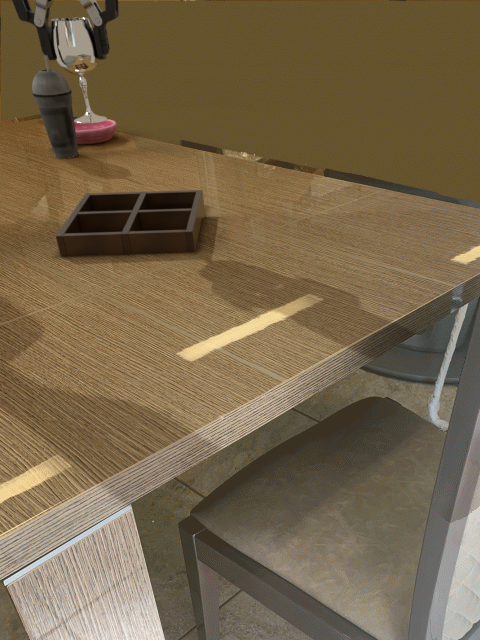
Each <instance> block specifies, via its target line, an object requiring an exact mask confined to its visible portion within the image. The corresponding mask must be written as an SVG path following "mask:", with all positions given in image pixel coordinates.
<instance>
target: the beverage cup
mask: <svg viewBox="0 0 480 640" xmlns="http://www.w3.org/2000/svg"><path fill="white" fill-rule="evenodd" d="M43 58H44V63H45V67H46V69H41V70H39V71H38V72H37V73H36V74H35V75H34V77H33V79H32V83H31V90H32V96H33V98H34V101H35V104H36V107H38V109H39V113H40V115H41V119H42V122H43V125H44V127H45V131H46V134H47V136H48V140H49V143H50V146H51V149H52V151H53V154H54V156H55V158H57V159H70V158H69V157H72V158H74V157H73V156H76V155H78V156H79V151H78V149H79V148H78V144H77V139H76V132H75V125H74V120H75V117H74V112H73V96H72V89H71V86H70V84H69V82H68V81H67V78H65V76H64V75H63V74H62V73H60V72H59V71H57V70H54V69H51V68H50V64H49V59H48V55H44V54H43ZM76 157H77V156H76Z"/></svg>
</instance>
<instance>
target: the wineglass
mask: <svg viewBox="0 0 480 640" xmlns="http://www.w3.org/2000/svg"><path fill="white" fill-rule="evenodd" d="M50 22H51V23H50V24H51V25H50V26H51V37H52V46H53V51H54V55H55V58H56V60H55V61H56V62H57V64H58V65H59V66H60V67H61V69H63V70H64V71H66V72H67V73H70V74H73V75H76V76H79V78H78V79H79V80H78V82H79V86H80V89H81V92H82V94H83V99H84V103H85V107H86V108H85V109H86V110H85V113H84V114H83V115H82V116H79V117H76V118H74V122H76V123H82V124H90V123H99V122H103V121H106V120H107V119H108V117H106V116H104V115H98V114H96V113H94V112H93V111H92V108H91V106H90V102H89V95H88V82H87V79H86V78H85V75H87V74H90V73H91V72H93V71H94V70H95V69H96V68H97V67H98V66H99V62H100V60H99V59H98V55H97V50H96V45H95V39H94V34H93V29H92V27H93V26H92V24H91V21H90V19H89V18H88V17H60V18H59V17H58V18H52V19H50Z"/></svg>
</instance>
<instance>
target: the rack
mask: <svg viewBox="0 0 480 640" xmlns="http://www.w3.org/2000/svg"><path fill="white" fill-rule="evenodd" d="M203 218H206V209H205V201H204V192H203V189H189V190H187V189H185V190H154V191H153V190H151V191H125V192H124V191H122V192H121V191H120V192H89V193H84V195H83V196H82V198H80V200H79V202H78V203H77V204H76V207H75V208H74V209H73V210H72V212H71V213H70V215H69V217H68V218H67V219H66V221H65V222H64V224H63V225H62V226H61V228H60V229H59V231H58V232H57V234H56V235H55V239H56V242H57V247H58V250H59V254H60V257H64V258H65V257H86V256H87V257H88V256H89V257H92V256H115V255H116V256H120V255H121V256H122V255H147V254H148V255H150V254H151V255H152V254H172V253H173V254H174V253H175V254H176V253H178V254H179V253H196V249H197V245H198V240H199V236H200V232H201V231H200V230H201V226H202V221H203Z"/></svg>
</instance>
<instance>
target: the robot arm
mask: <svg viewBox="0 0 480 640" xmlns="http://www.w3.org/2000/svg"><path fill="white" fill-rule="evenodd" d="M11 1H12V4H13V6H14V9H15V11H16V14H17V16H18V17H17V18H18V19H19V20H20V21H22V22H25V23H29V24H31V25H33V26H34V27H35V29H36V32H37V36H38V39H39V43H40V48H41V52H42V54H43V56H44V55H47V59H48V61H57V60H56V58H55V55H54V51H53V46H52V37H51V25H49V21H50V18H51V17H50V16H51V11H52V7H53V4H54V0H35V9H34V10H33V9H32V7H31V4H30V1H29V0H11ZM78 1H79V3H80V4H81V7H82V8H84V10H85V12H86V14H87V15H88V16H89V18H90V20H91V22H92V23H93V26H92V29H93V34H94V39H95V45H96V50H97V55H98V59H99V61H100V60H106V59H107V55H108V54H110V50H111V47H110V41H109V35H108V30H107V24H108V23H109V22H111V21H114V20H115V19H117V18H118V17H119V15H120V14H119V13H120V12H119V11H120V10H119V9H120V8H119V0H104V6H105V7H104V8H105V9H104V11H102V9H101V7H100V5H99V4H98V1H97V0H78Z"/></svg>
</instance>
